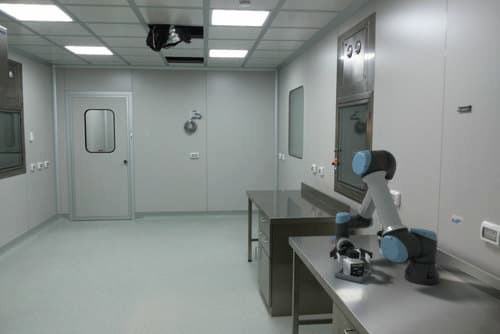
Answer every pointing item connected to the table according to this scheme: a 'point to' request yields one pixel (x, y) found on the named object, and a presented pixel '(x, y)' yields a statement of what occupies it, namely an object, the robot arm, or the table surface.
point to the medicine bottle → (353, 263)
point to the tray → (341, 275)
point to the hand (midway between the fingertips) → (354, 260)
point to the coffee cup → (380, 238)
